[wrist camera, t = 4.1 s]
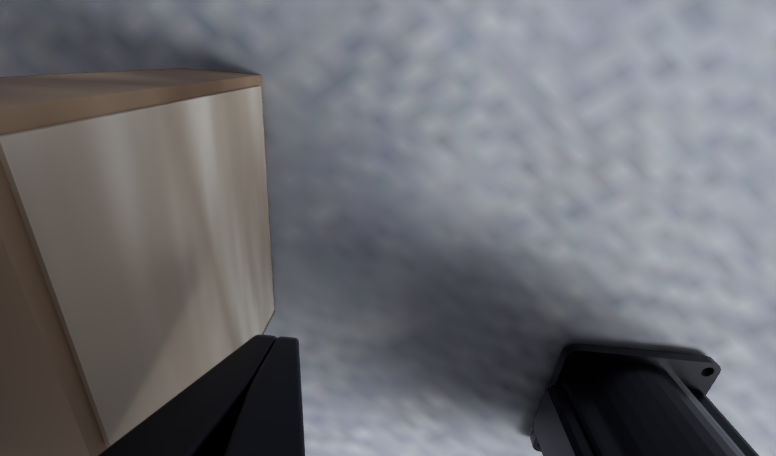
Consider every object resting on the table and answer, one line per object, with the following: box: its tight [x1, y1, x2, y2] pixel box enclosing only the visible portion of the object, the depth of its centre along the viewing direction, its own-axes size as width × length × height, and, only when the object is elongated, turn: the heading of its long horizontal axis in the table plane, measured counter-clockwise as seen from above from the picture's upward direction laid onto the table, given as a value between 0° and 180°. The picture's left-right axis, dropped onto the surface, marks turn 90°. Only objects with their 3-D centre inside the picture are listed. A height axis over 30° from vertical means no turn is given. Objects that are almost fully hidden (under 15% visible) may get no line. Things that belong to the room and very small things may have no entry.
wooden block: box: [0, 68, 275, 456], centre depth 10 cm, size 3×10×9 cm, turn 175°
